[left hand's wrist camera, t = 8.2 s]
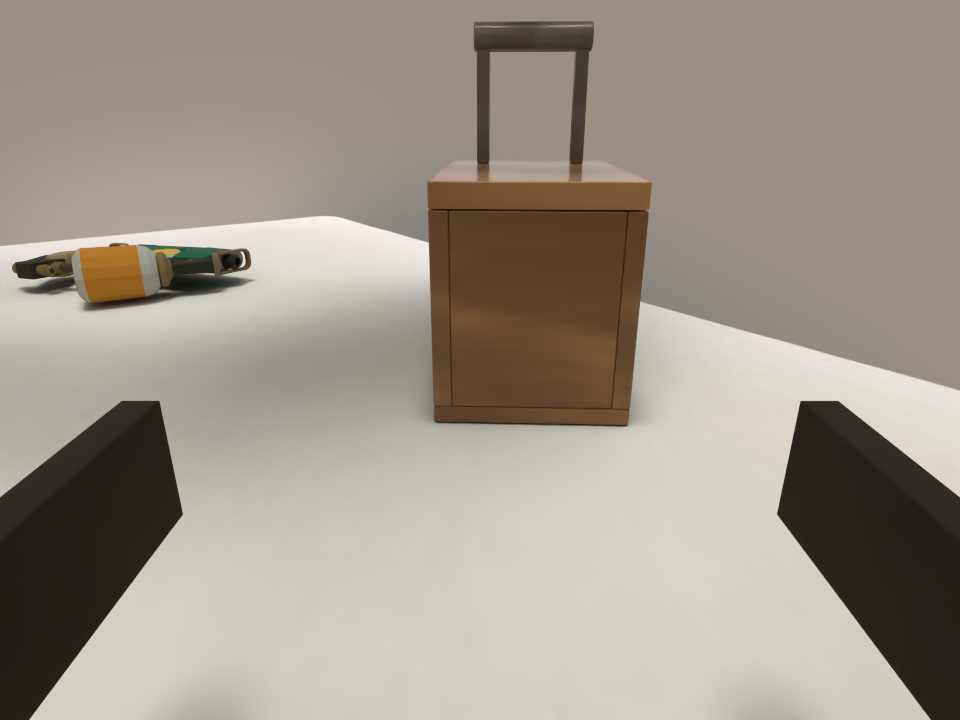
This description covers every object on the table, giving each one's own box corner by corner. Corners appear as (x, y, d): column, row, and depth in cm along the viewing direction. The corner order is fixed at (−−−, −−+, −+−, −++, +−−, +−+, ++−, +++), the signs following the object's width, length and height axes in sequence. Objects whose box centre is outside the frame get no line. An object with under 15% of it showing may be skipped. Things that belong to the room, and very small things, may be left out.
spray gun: (10, 290, 55) (180, 267, 65) (74, 316, 44) (265, 283, 55) (-2, 242, 53) (173, 226, 64) (61, 256, 43) (258, 235, 54)
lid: (454, 179, 39) (451, 28, 36) (601, 179, 39) (612, 27, 36) (427, 209, 26) (421, -22, 23) (649, 210, 26) (672, -24, 23)
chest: (454, 334, 42) (452, 181, 38) (592, 336, 42) (603, 182, 38) (434, 422, 30) (428, 210, 26) (628, 425, 30) (649, 211, 26)
